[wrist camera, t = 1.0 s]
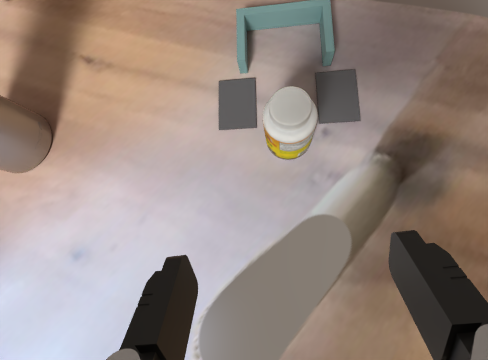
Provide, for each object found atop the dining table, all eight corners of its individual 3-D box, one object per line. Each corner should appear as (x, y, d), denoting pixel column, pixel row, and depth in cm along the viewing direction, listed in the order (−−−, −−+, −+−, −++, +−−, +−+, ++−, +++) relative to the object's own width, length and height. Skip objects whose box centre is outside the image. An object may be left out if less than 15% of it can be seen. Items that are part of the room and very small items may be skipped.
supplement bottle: (266, 120, 37) (261, 78, 27) (310, 119, 36) (320, 76, 26) (265, 161, 36) (260, 133, 26) (310, 161, 35) (322, 133, 25)
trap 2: (219, 130, 38) (218, 129, 38) (219, 81, 39) (218, 81, 39) (256, 127, 37) (256, 127, 37) (255, 78, 38) (255, 77, 38)
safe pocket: (240, 73, 39) (237, 60, 36) (239, 25, 40) (236, 9, 37) (330, 65, 37) (334, 51, 35) (326, 15, 39) (330, -2, 36)
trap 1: (319, 123, 36) (319, 122, 36) (315, 73, 38) (315, 72, 37) (360, 120, 36) (360, 120, 35) (354, 70, 37) (355, 69, 37)
